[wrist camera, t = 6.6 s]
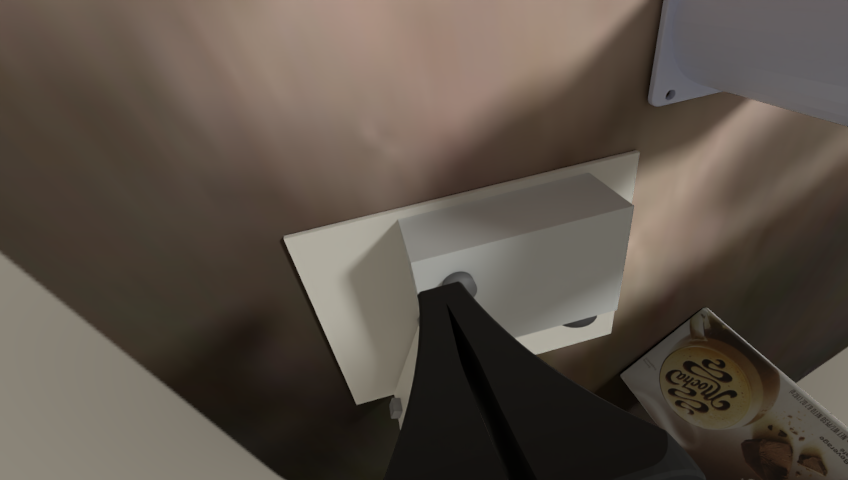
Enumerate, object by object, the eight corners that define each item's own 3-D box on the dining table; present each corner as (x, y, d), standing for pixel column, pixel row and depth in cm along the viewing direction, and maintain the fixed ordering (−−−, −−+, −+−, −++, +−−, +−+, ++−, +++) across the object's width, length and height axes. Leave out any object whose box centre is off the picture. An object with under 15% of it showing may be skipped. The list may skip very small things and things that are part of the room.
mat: (636, 150, 23) (640, 151, 22) (608, 330, 31) (610, 333, 31) (283, 235, 21) (283, 239, 21) (356, 401, 30) (356, 404, 29)
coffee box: (652, 393, 38) (828, 617, 25) (616, 373, 35) (796, 617, 21) (736, 331, 35) (986, 546, 22) (705, 303, 32) (976, 535, 19)
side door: (411, 313, 25) (424, 360, 22) (432, 314, 26) (447, 360, 23) (385, 391, 29) (393, 441, 26) (404, 391, 29) (413, 440, 26)
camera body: (589, 172, 22) (642, 211, 19) (579, 282, 27) (620, 331, 23) (397, 219, 22) (413, 270, 18) (422, 324, 26) (438, 382, 22)
